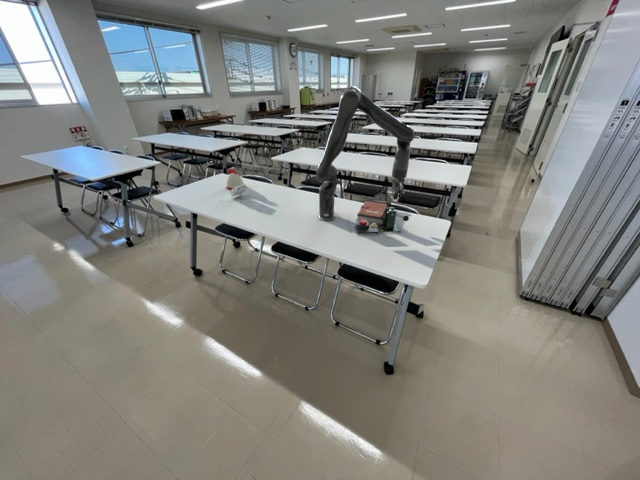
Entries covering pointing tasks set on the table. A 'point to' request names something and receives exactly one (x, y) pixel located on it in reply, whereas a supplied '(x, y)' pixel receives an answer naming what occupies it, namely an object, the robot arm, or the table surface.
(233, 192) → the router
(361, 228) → the emergency stop panel
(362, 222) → the button
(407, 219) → the switch lever
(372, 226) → the lamp lens
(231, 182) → the kitchen timer
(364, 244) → the table surface
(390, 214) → the switch bracket
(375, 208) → the book
